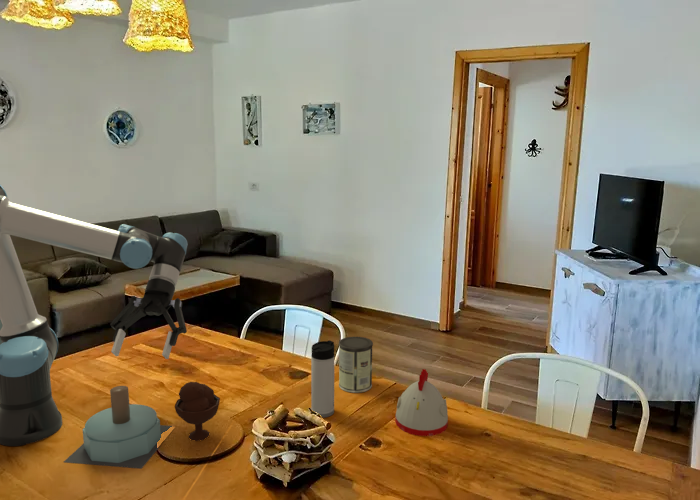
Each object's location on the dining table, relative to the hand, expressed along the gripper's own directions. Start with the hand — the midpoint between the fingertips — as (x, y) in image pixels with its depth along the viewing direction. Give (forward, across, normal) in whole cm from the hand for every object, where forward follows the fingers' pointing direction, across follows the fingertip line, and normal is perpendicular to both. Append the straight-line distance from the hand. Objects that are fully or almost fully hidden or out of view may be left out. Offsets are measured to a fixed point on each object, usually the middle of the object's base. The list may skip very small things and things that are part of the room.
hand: (139, 355), depth 143 cm
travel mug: (+5, -46, -22) cm, 51 cm away
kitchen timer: (+7, -73, -21) cm, 76 cm away
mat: (+21, 0, -6) cm, 22 cm away
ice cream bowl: (+17, -17, -10) cm, 26 cm away
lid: (+20, 0, -6) cm, 21 cm away
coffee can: (-8, -53, -35) cm, 64 cm away
